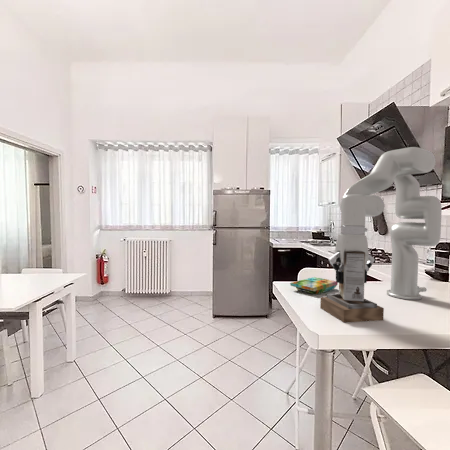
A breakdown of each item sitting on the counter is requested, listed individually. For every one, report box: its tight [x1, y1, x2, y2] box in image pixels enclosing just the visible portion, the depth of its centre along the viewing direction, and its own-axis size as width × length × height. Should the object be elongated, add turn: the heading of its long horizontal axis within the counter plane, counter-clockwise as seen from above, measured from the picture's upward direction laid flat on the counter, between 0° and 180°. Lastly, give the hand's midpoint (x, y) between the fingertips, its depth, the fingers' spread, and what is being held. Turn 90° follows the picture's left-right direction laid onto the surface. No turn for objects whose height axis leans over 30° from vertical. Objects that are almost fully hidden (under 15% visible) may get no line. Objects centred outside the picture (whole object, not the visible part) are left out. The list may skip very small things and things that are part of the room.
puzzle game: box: [289, 276, 339, 295], centre depth 126 cm, size 12×5×20 cm
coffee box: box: [338, 251, 365, 301], centre depth 94 cm, size 9×6×16 cm
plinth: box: [319, 293, 385, 323], centre depth 94 cm, size 14×14×5 cm
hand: (351, 282), depth 94 cm, fingers closed on coffee box, 8 cm apart
